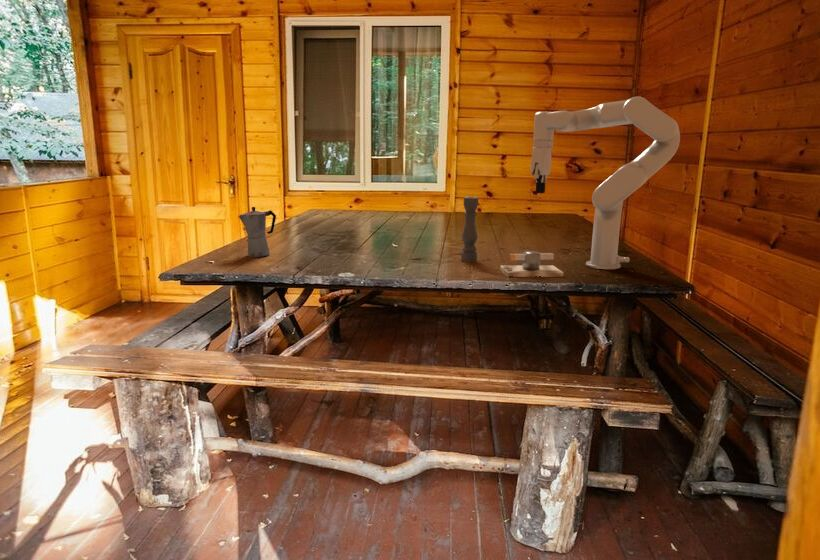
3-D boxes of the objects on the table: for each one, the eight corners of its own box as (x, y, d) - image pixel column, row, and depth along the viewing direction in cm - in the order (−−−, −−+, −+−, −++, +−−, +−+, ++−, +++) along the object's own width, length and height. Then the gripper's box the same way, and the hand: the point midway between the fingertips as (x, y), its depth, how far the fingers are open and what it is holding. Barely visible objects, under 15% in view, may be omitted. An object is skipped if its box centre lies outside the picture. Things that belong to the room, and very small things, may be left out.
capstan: (548, 266, 208) (549, 250, 206) (555, 269, 202) (556, 253, 200) (506, 267, 205) (507, 251, 204) (512, 270, 199) (512, 254, 198)
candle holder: (463, 262, 222) (465, 198, 216) (459, 259, 227) (461, 196, 222) (478, 261, 223) (481, 198, 217) (473, 258, 229) (476, 196, 223)
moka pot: (236, 255, 230) (233, 206, 226) (272, 251, 239) (270, 204, 235) (245, 259, 223) (242, 208, 218) (281, 255, 232) (279, 206, 227)
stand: (552, 269, 210) (553, 264, 210) (563, 276, 198) (563, 271, 198) (499, 269, 209) (500, 264, 209) (507, 276, 197) (507, 271, 197)
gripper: (541, 145, 225) (538, 191, 229) (525, 144, 213) (523, 193, 218) (559, 145, 221) (556, 192, 225) (544, 144, 209) (541, 194, 213)
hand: (540, 192), depth 221 cm, fingers closed
